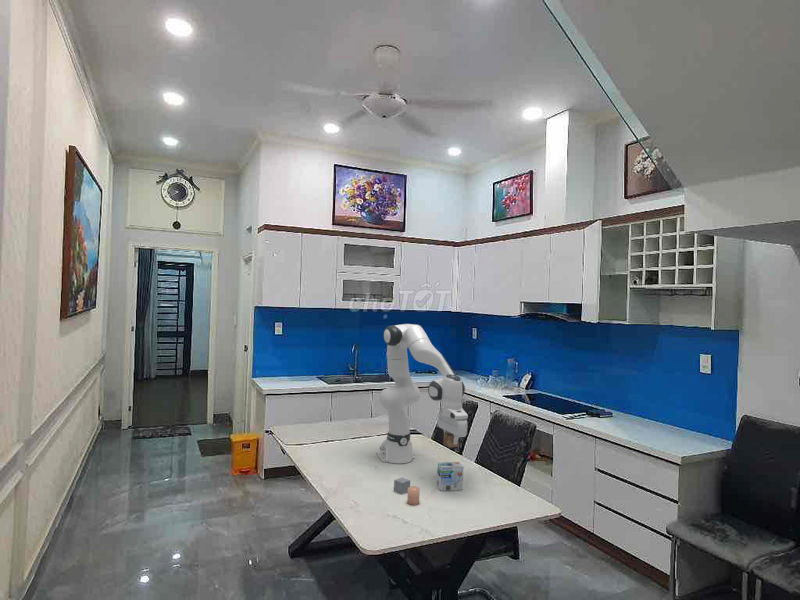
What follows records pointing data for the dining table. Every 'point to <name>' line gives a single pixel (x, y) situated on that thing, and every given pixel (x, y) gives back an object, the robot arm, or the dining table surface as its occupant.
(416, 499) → the cylinder
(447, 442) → the walnut cube
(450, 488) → the light bulb box
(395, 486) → the slate cube
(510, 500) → the dining table surface
